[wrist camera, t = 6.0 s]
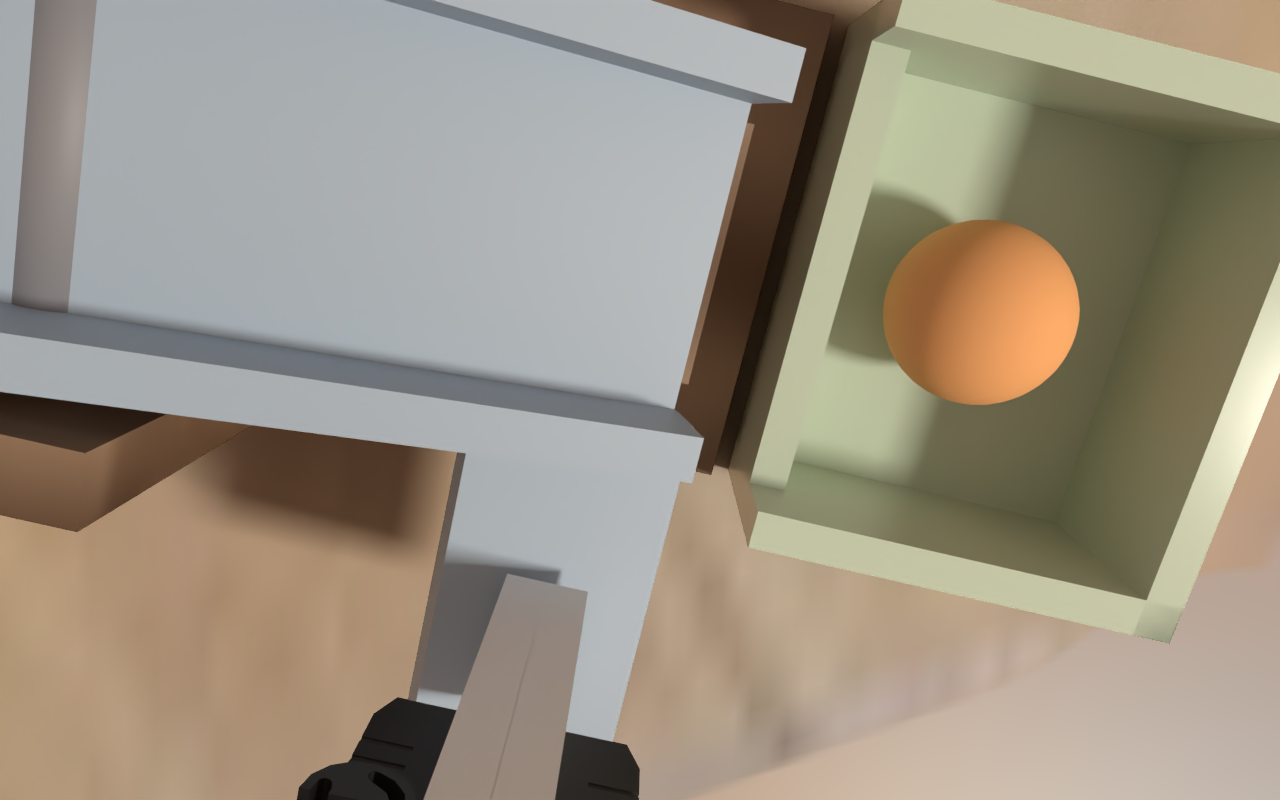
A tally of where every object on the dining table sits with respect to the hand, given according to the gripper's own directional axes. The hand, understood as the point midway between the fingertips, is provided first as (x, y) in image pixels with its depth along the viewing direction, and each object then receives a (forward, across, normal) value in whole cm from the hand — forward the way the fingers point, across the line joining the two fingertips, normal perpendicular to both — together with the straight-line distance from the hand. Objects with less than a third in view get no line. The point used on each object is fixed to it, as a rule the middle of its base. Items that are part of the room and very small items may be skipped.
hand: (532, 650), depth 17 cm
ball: (+5, +8, +8) cm, 12 cm away
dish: (+8, +8, +8) cm, 13 cm away
